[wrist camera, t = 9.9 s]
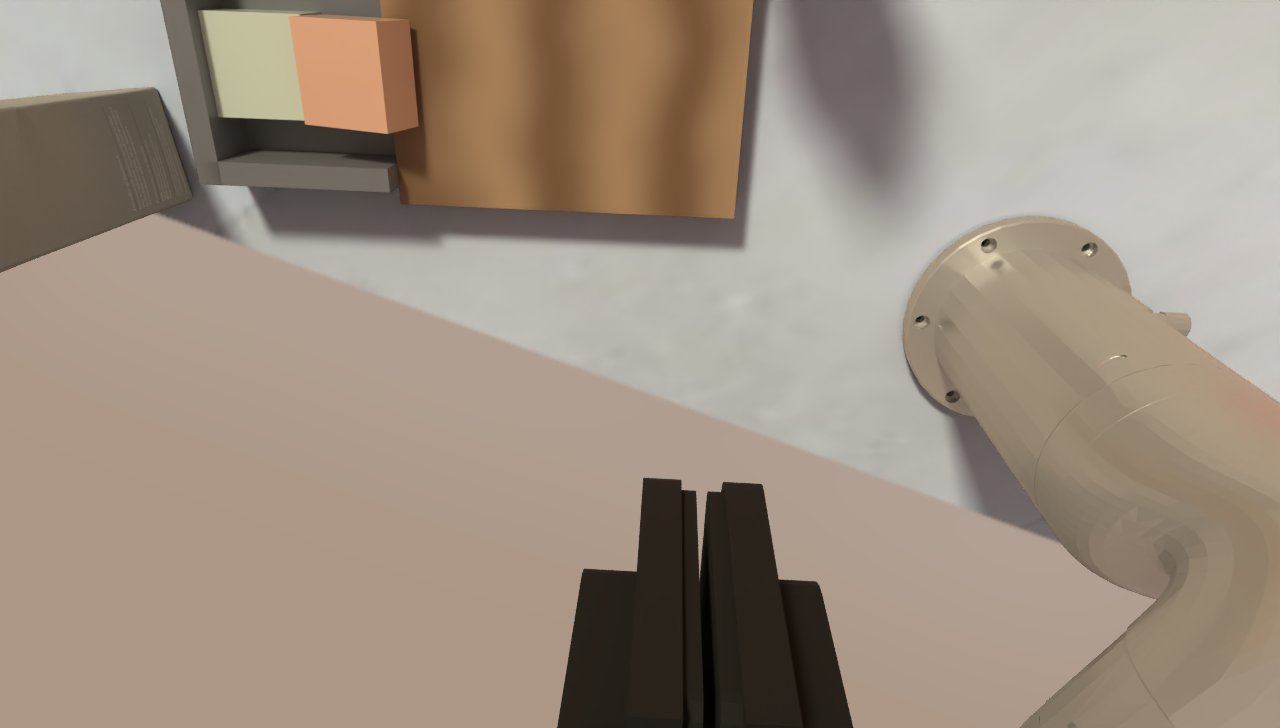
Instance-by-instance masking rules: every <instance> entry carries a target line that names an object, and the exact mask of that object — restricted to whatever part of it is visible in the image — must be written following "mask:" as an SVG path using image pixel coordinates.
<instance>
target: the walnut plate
mask: <svg viewBox="0 0 1280 728" xmlns="http://www.w3.org/2000/svg"><path fill="white" fill-rule="evenodd" d="M380 5H381V15H382V18H391V19H407V20H409V24H410V35H411V46H412V57H413V69H414V80H415V91H416V102H417V113H418V125H419V126H418V127H414V128H410V129H406V130H402V131H398V132H394V142H395V152H396V161H397V171H398V181H399V191H400V200H401V204H412V205H435V206H457V207H480V208H502V209H525V210H547V211H570V212H592V213H615V214H638V215H660V216H683V217H705V218H728V219H734V215H735V204H736V192H737V181H738V170H739V158H740V147H741V136H742V124H743V113H744V102H745V90H746V79H747V67H748V56H749V45H750V33H751V22H752V11H753V0H380Z"/></svg>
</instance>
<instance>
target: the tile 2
mask: <svg viewBox="0 0 1280 728" xmlns="http://www.w3.org/2000/svg"><path fill="white" fill-rule="evenodd" d="M289 21H290V28H291V34H292V41H293V47H294V54H295V61H296V67H297V74H298V80H299V87H300V94H301V100H302V107H303V113H304V120H305V124H306V125H315V126H323V127H332V128H341V129H349V130H358V131H366V132H375V133H384V134H390V133H394V132H398V131H402V130H406V129H410V128H414V127H418V126H419V125H418V113H417V102H416V91H415V80H414V69H413V57H412V46H411V35H410V24H409V20H407V19H391V18H375V17H359V16H343V15H326V14H324V15H301V16H289Z"/></svg>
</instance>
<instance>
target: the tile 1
mask: <svg viewBox="0 0 1280 728" xmlns="http://www.w3.org/2000/svg"><path fill="white" fill-rule="evenodd" d="M198 15H199V20H200V25H201V31H202V36H203V41H204V46H205V51H206V56H207V61H208V66H209V71H210V76H211V81H212V87H213V92H214V97H215V102H216V107H217V112H218V117H230V118H254V119H278V120H302V121H305V120H304V113H303V107H302V100H301V94H300V87H299V80H298V74H297V67H296V61H295V54H294V47H293V41H292V34H291V28H290V21H289V16H301V15H321V12H306V11H280V10H254V9H228V8H222V9H207V10H198Z"/></svg>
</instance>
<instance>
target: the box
mask: <svg viewBox="0 0 1280 728" xmlns="http://www.w3.org/2000/svg"><path fill="white" fill-rule="evenodd" d="M160 2H161V7H162V11H163V16H164V21H165V25H166V30H167V35H168V39H169V44H170V49H171V53H172V58H173V63H174V67H175V72H176V76H177V81H178V86H179V90H180V95H181V100H182V104H183V109H184V114H185V118H186V123H187V128H188V132H189V137H190V142H191V146H192V151H193V156H194V160H195V165H196V170H197V174H198V179H199V183H200V184H209V185H231V186H254V187H277V188H300V189H322V190H345V191H368V192H391V191H392V190H394V189H395V188H396V187H398V186H399V181H398V171H397V161H396V152H395V142H394V133H390V134H384V133H375V132H366V131H358V130H349V129H341V128H332V127H323V126H315V125H306V124H305V121H302V120H278V119H254V118H230V117H218V112H217V107H216V102H215V97H214V92H213V87H212V81H211V76H210V71H209V66H208V61H207V56H206V51H205V46H204V41H203V36H202V31H201V25H200V20H199V15H198V10H207V9H222V8H228V9H254V10H280V11H306V12H321V15H324V14H326V15H343V16H359V17H375V18H382V15H381V5H380V0H160Z"/></svg>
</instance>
